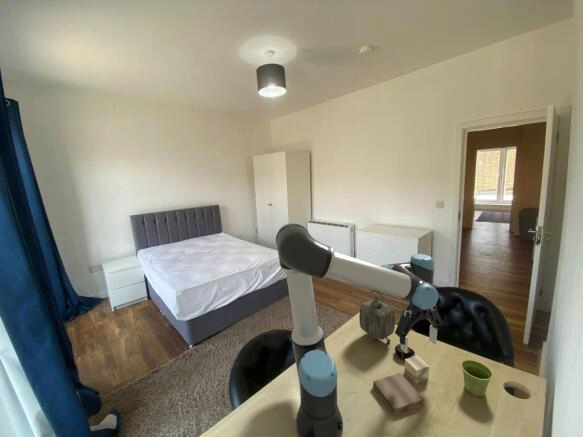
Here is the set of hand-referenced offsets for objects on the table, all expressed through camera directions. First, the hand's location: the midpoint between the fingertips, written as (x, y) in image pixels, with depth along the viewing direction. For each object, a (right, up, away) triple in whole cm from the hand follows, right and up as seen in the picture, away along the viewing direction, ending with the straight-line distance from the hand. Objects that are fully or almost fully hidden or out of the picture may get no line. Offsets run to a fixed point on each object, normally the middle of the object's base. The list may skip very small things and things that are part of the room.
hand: (418, 346), depth 97 cm
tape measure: (+1, -11, +14) cm, 18 cm away
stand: (-11, -15, -6) cm, 19 cm away
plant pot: (+18, -14, -5) cm, 23 cm away
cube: (0, -13, +2) cm, 13 cm away
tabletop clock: (-8, -9, +25) cm, 28 cm away
